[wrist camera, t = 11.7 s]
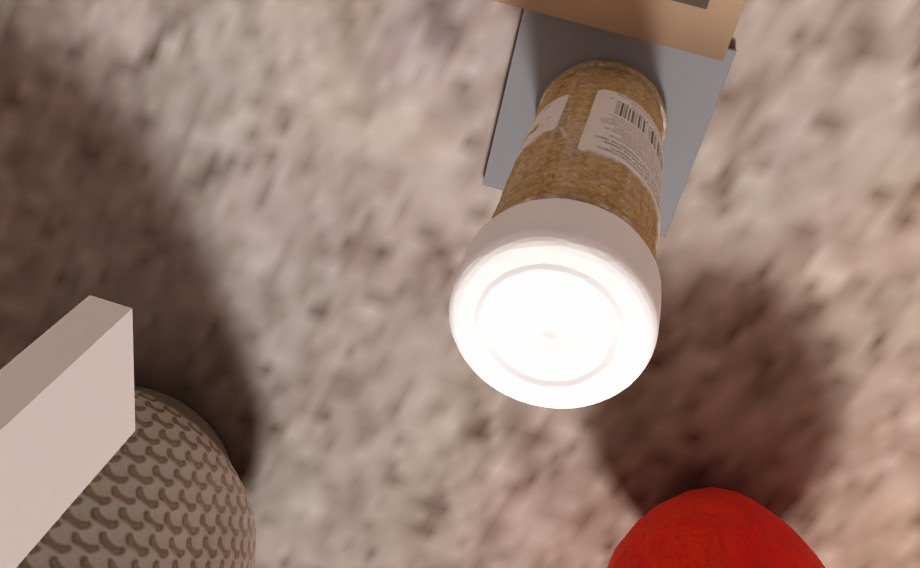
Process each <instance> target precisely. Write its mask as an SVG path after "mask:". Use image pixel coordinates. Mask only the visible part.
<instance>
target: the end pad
mask: <svg viewBox="0 0 920 568" xmlns="http://www.w3.org/2000/svg"><path fill="white" fill-rule="evenodd" d="M735 53H736V49H734V48H730V47H728V49H727V52H726V55H725V57H724V60H723V61H720V60H716V59H712V58H709V57H705V56H701V55H697V54H693V53H690V52H686V51H682V50H678V49H675V48H671V47H667V46H663V45H660V44H656V43H652V42H648V41H644V40H641V39H637V38H633V37H629V36H626V35H622V34H618V33H614V32H611V31H607V30H603V29H599V28H595V27H592V26H588V25H584V24H580V23H577V22H573V21H569V20H565V19H562V18H558V17H554V16H550V15H546V14H543V13H539V12H535V11H531V10H528V9H524V11H523V15H522V20H521V24H520V28H519V32H518V37H517V41H516V45H515V49H514V54H513V58H512V62H511V66H510V71H509V75H508V79H507V83H506V87H505V92H504V96H503V100H502V104H501V109H500V113H499V117H498V121H497V126H496V130H495V134H494V138H493V143H492V147H491V151H490V155H489V160H488V164H487V168H486V172H485V177H484V181H483V185H486V186H489V187H493V188H496V189H500V190H503V189H504V187H505V184H506V181H507V178H508V176H509V174H510V172H511V169H512V167H513V165H514V162H515V160H516V158H517V155H518V153H519V151H520V149H521V146H522V144H523V142H524V140H525V137H526V135H527V133H528V131H529V129H530V126H531V124H532V123H533V121H534V120H535V117H536V112H537V108H538V105H539V102H540V100H541V98H542V96H543V94H544V92H545V90H546V89H547V87H548V86H549V85H550V83H551V82H552V81H554V80H555V79H556V78H557V77H558V76H559V75H561V74H563V73H564V72H565V71H566V70H568V69H569V68H571V67H573V66H575V65H578V64H580V63H583V62H586V61H590V60H600V61H601V60H605V61H616V62H618V63H622V64H625V65H627V66H630V67H632V68H635V69H636V70H638V71H639V72H641V73H642V74H643V75H644V76H645V77H646V78H647V79H648V80H650V81H651V82H652V83H653V85H654V86H655V87H656V89H657V91H658V93H659V95H660V97H661V98H662V100H663V104H664V108H665V110H666V114H667V132H666V137H665V140H664V144H663V184H662V203H661V221H660V236H663V237H665V236H666V233H667V231H668V228H669V225H670V223H671V220H672V218H673V215H674V212H675V210H676V207H677V205H678V202H679V199H680V197H681V194H682V192H683V189H684V186H685V184H686V181H687V178H688V176H689V173H690V171H691V168H692V165H693V163H694V160H695V158H696V155H697V152H698V150H699V147H700V145H701V142H702V139H703V137H704V134H705V132H706V129H707V126H708V124H709V121H710V119H711V116H712V113H713V111H714V108H715V105H716V103H717V100H718V98H719V95H720V92H721V90H722V87H723V85H724V82H725V79H726V77H727V74H728V72H729V69H730V66H731V64H732V61H733V59H734V56H735Z"/></svg>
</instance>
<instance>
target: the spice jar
mask: <svg viewBox="0 0 920 568" xmlns="http://www.w3.org/2000/svg"><path fill="white" fill-rule="evenodd" d="M666 132H667V114H666V110H665V108H664V104H663V100H662V98H661V97H660V95H659V93H658V91H657V89H656V87H655V86H654V85H653V83H652V82H651V81H650V80H648V79H647V78H646V77H645V76H644V75H643V74H642V73H641V72H639V71H638V70H636V69H635V68H632V67H630V66H627V65H625V64H622V63H618V62H616V61H605V60H601V61H600V60H590V61H586V62H583V63H580V64H578V65H575V66H573V67H571V68H569V69H568V70H566V71H565V72H564V73H563V74H561V75H559V76H558V77H557V78H556V79H555V80H554V81H552V82H551V83H550V85H549V86H548V87H547V89H546V90H545V92H544V94H543V96H542V98H541V100H540V102H539V105H538V108H537V112H536V117H535V120H534V121H533V123H532V124H531V126H530V129H529V131H528V133H527V135H526V137H525V140H524V142H523V144H522V146H521V149H520V151H519V153H518V155H517V158H516V160H515V162H514V165H513V167H512V169H511V172H510V174H509V176H508V178H507V181H506V184H505V187H504V189H503V192H502V196H501V199H500V202H499V204H498V206H497V208H496V210H495V212H494V215H493V216H492V219H491V220H490V221H489V222H488V223H487V224H486V225H484V226H483V228H482V229H481V230H480V231H479V232H478V234H477V235H476V236H475V238H474V239H473V241H472V243H471V244H470V246H469V248H468V250H467V252H466V255H465V257H464V259H463V261H462V263H461V266H460V268H459V271H458V273H457V276H456V278H455V281H454V284H453V287H452V290H451V295H450V300H449V321H450V327H451V331H452V335H453V338H454V340H455V342H456V345H457V347H458V349H459V351H460V353H461V354H462V356H463V358H464V359H465V361H466V362H467V363H468V365H469V366H470V367H471V368H472V369H473V370H474V372H475V373H476V374H477V375H478V376H479V377H480V378H481V379H483V380H484V381H485V382H486V383H488V384H489V385H490V386H492V387H493V388H495V389H496V390H498V391H499V392H501V393H503V394H505V395H507V396H509V397H511V398H513V399H516V400H518V401H521V402H524V403H527V404H530V405H535V406H540V407H547V408H556V409H569V408H578V407H584V406H589V405H593V404H596V403H599V402H602V401H604V400H606V399H609V398H611V397H613V396H615V395H617V394H618V393H620V392H621V391H623V390H624V389H626V388H627V387H629V386H630V385H631V384H632V383H633V382H634V381H635V379H637V378H638V377H639V376H640V374H641V373H642V372H643V370H644V369H645V367H646V366H647V364H648V362H649V361H650V359H651V357H652V355H653V352H654V349H655V346H656V342H657V337H658V331H659V322H660V313H661V279H660V274H659V270H658V266H657V263H656V248H657V245H658V241H659V235H660V221H661V203H662V184H663V144H664V140H665V137H666Z"/></svg>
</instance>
